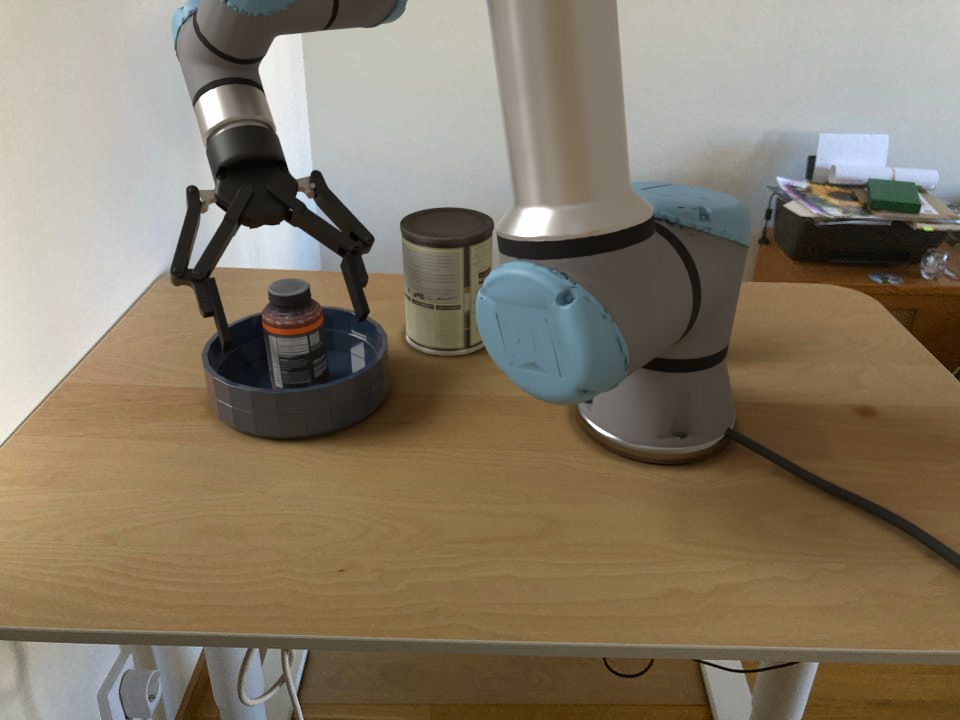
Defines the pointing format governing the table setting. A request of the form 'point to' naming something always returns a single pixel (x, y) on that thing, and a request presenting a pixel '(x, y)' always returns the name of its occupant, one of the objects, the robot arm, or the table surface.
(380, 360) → the bowl
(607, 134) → the robot arm
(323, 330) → the supplement bottle
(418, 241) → the coffee can
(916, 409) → the table surface
